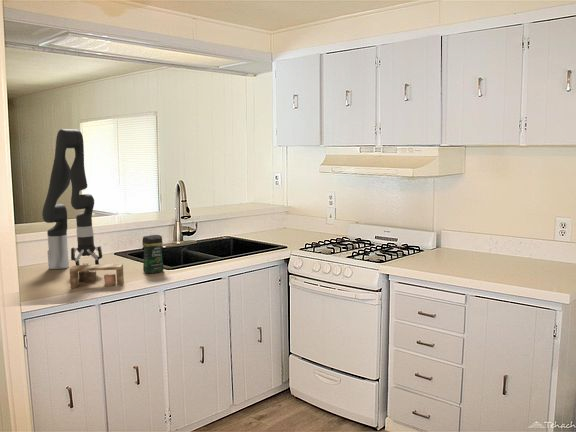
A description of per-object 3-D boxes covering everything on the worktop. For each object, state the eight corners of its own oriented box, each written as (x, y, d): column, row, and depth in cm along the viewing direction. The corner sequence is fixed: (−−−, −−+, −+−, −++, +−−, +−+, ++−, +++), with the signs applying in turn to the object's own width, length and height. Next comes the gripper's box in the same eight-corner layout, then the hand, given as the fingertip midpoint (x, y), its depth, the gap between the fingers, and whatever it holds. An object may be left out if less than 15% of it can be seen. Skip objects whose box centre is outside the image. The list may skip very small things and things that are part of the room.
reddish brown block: (103, 286, 248) (103, 276, 247) (105, 283, 253) (105, 273, 252) (115, 285, 249) (114, 275, 248) (116, 282, 253) (116, 273, 253)
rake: (79, 282, 255) (78, 272, 254) (83, 273, 274) (83, 263, 273) (96, 281, 257) (95, 270, 256) (99, 271, 276) (98, 262, 275)
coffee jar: (148, 274, 268) (146, 237, 266) (141, 272, 274) (139, 235, 272) (166, 271, 274) (164, 235, 272) (158, 269, 280) (157, 233, 278)
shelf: (70, 288, 245) (69, 269, 244) (74, 284, 252) (73, 265, 250) (121, 285, 248) (120, 266, 247) (123, 281, 255) (122, 263, 254)
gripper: (68, 237, 262) (70, 270, 264) (98, 235, 264) (101, 268, 266) (71, 234, 270) (74, 267, 272) (101, 233, 272) (104, 265, 274)
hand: (87, 267), depth 269 cm, fingers open, 8 cm apart
